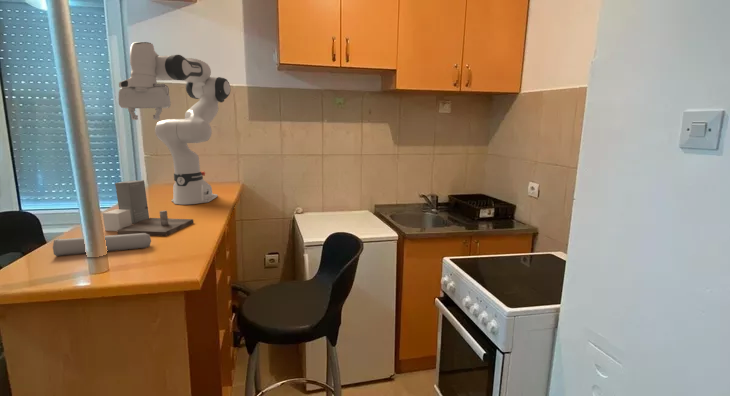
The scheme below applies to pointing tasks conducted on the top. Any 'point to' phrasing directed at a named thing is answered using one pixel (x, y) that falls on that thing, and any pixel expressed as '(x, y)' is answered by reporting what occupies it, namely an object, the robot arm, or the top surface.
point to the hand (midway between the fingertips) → (145, 119)
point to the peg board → (157, 226)
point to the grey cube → (117, 219)
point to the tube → (112, 243)
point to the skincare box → (133, 199)
